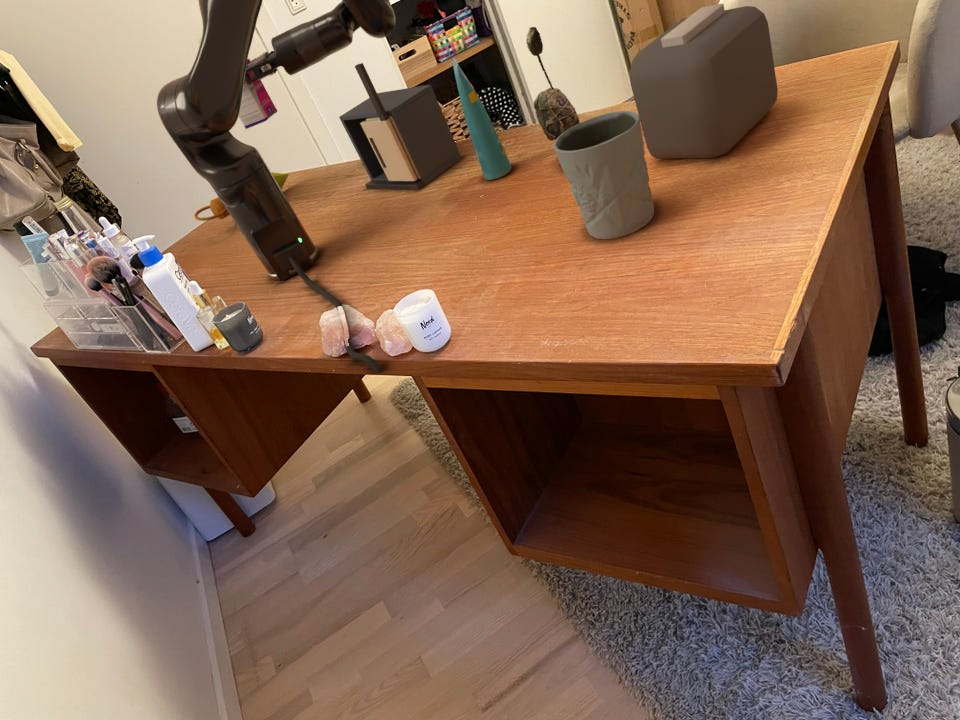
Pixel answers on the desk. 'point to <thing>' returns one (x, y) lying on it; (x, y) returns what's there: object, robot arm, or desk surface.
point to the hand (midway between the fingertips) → (229, 82)
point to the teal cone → (481, 130)
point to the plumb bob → (220, 209)
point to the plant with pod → (550, 99)
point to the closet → (405, 136)
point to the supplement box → (255, 103)
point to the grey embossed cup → (608, 173)
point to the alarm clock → (704, 82)
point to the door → (384, 137)
